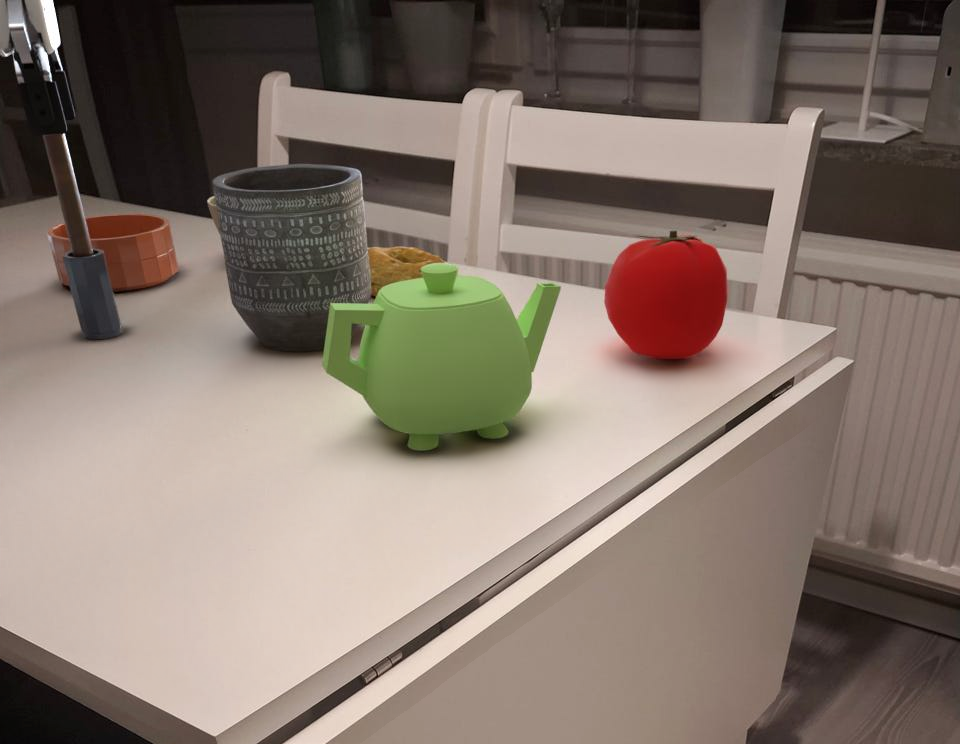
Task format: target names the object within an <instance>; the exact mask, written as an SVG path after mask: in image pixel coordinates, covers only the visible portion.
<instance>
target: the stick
mask: <svg viewBox="0 0 960 744" xmlns="http://www.w3.org/2000/svg"><path fill="white" fill-rule="evenodd" d="M42 138H43V142H44V146H45V150H46V154H47V158H48V163H49V166H50V170H51V173H52V178H53V182H54V185H55V189H56V194H57V198H58V202H59V206H60V209H61V213H62V217H63V222H65V225H66V229H67V233H68V237H69V241H70V245H71V249H72V253H73V257H85V256H92V255H94V253H93V249H92V245H91V241H90V237H89V233H88V229H87V224H86V220H85V217H86V216H85V212H84V208H83V204H82V200H81V197H80V192H79V188H78V183H77V179H76V176H75V175H76V174H75V172H74V166H73V162H72V158H71V154H70V150H69V145H68V141H67V138H66V133H64V134H52V135H42Z"/></svg>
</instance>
